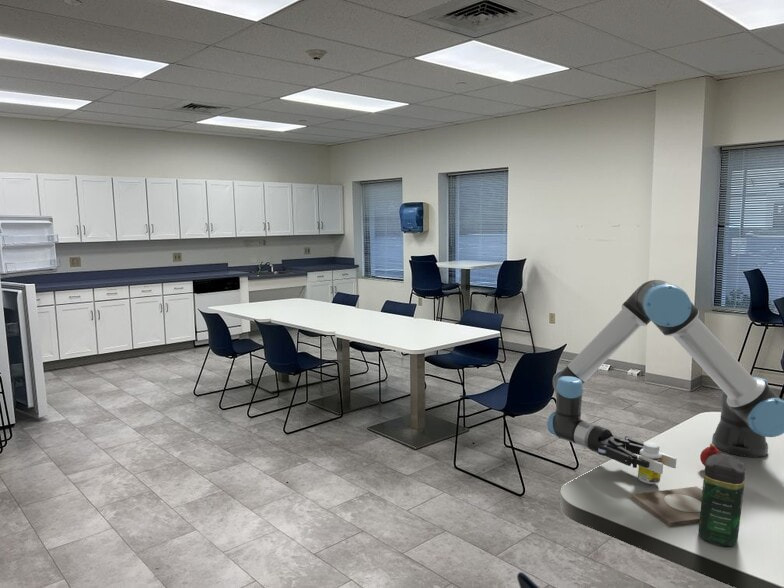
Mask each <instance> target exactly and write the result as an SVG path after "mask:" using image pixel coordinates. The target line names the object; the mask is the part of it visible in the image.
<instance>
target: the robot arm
mask: <svg viewBox="0 0 784 588" xmlns="http://www.w3.org/2000/svg"><path fill="white" fill-rule="evenodd" d="M699 314H700V310H699V309H698V308H697V307H696V306H695V304H694V303H693V302H692V301H691V299H690V296H689V295H688V294H687V292H686V291H685V290H684V289H683V288H681V287H679V286H678V285H676V284H672V283H669V282H666V281H665V280H662V279H652V280H648V281H646V282H643V283H642V284H641V285H640V286H639V287H637V289H635V290H634V291H633V292H632V294H630V296H629V297H628V298H627V299H626V300H625V301H624V302H623V303H622V304H621V310H620V311H619V312H618V313H617V314H616V315H615V316H614V317H613V318H612V319H611V321H609V322H608V323H607V324H606V325H605V327H603V328H602V330H601V331H599V333H598V334H596V336H594V338H593V339H592V340H591V341H590V342H588V344H587V345H586V346H585V347H584V348H583V349H582V350H581V351H580V352H579V353H578V354H577V355H576V356H575V357H574V358H573V359H572V361H570V362H569V364H568V365H566V367H565V368H563V370H562V369H561V370H559V371H557V372H556V373H554V375H553V377H552V387H553V390H554V394H555V398H556V399H555V400H556V401H555V403H556V405H555V411H553V412H551V413H550V414H549V416H548V420H547V421H546V429H547V431H548V432H549V433H550V434H551V435H553V436H555V437H557V438H559V439H561V440H564V441H568V442H570V443H573V444H576V445H577V446H579V447H580V446H581V447H582V448H583V449H587V450H589V451H592V452H595V453H597V454H598V455H599V456H603V457H607V458H608V459H612V460H614V461H616V462H618V463H620V464H623V465H625V466H628V467H631V465H632V468H633V469H638V467H639V466H641V467H644V468H646V469H649V470H651V471H654V472H656V473H659V474H661V475H662V474H663V472H664V471H663V470H664V466H667V467H668V468H672V469H676V468H677V460H678V459H677V457H675V456H672V455H668V454H666V453H663V452H661V453H662V463H660V462H657V461H655V460H652V459H649V458H647V457H644V456H641V455H640V450H641V449H643V444H644V442H642V441H640V440H637V439H633V438H632V437H630V436H627V435H626V436H625V435H624V438H621V437H619V436H614V435H613V433H612V431H611V430H610V429H609V428H605V427H602V426H600V425H597V424H595V423H593V422H588V421H586V420H583V419H581V416H582V401H583V392H584V390H583V385H584V384H585V382H587V380H588V379H589V378H591V376H592V375H593V374H594V373H596V371H598V369H600V367H601V366H603V364H604V363H605V362H606V361H608V359H610V357H611V356H613V355H614V354H615V352H617V351H618V350H619V348H620V347H621V346H622V345H623V344H625V343H626V341H628V339H630V338H631V337H632V336H633V335H634V333H635V332H637V330H638V329H640V327H643V326H644V327H646V326H648V324H649V323H650V322H652V323H653V324H654V325H655V327H656V328H658V330H659V331H660V332H661V333H662V334H663V335H664V336H666V337H673V338H674V339H675V341H677V342H678V344H679V345H680V346H681V347H682V348H683V349H684V350H685V351H686V352H687V353H688V354H689V355H690V357H691V358H692V359H693V360H694V361H695V362H696V363H697V364H698V365H699V367H700V368H701V369H702V370H703V371H704V372H705V374H707V375H708V376H709V377H710V378H711V380H712V381H713V382H714V383H715V384H716V385H717V386H718V387H719V388H720V389H721V390H722V398H721V410H720V420H719V422H718V424H717V426H716V428H715V430H714V432H713V435H712V438H711V444H713V445H714V446H715V447H716V448H717V449H718V450H719V451H723V452H725V453H729V454H731V455H735V456H740V457H746V458H761V456H762V457H766V456H767V455H768V453H769V444H768V443H767V439H766V438H776V437H779V436H782V435H784V399H782V398H781V397H779V396H778V394H777V393H775V392H774V391H773V389H772V388H771V387H770V386H769V382H768V380H767V379H765V378H761V377H758V376H752V375H751V374H750V372H748V371H747V369H746V368H745V367H744V366H743V365H742V364H741V363H740V362H739V361H738V360H737V359H736V357H735V356H734V355H733V354H732V353H731V352H730V351H729V350H728V348H726V346H725V345H724V344H723V343H722V342H721V341H720V340H719V339H718V338H717V337H716V336H715V334H714V333H712V331H711V330H710V329H709V328H708V327H707V326H706V325H705V324H704V323H703V321H702V320H701V319H700V318H699V316H700V315H699ZM766 454H767V455H766Z"/></svg>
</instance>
